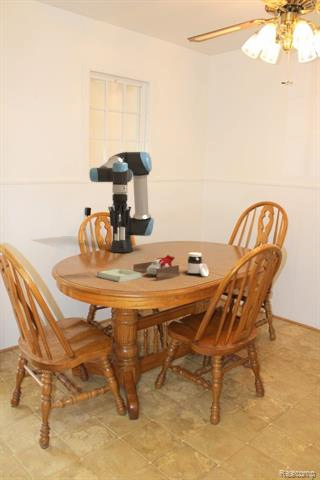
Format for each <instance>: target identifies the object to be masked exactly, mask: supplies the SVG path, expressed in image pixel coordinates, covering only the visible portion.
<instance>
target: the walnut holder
mask: <svg viewBox="0 0 320 480" xmlns="http://www.w3.org/2000/svg"><path fill="white" fill-rule="evenodd" d="M151 263H153V261H147V262H141V263H135V264H133V269H132V271H134V272H139V273H142V275H143V274H148V273H147V272H146V270H147V268H148V267H149V266H150V265H151ZM155 275H156V276H155V277H156V279H155V280H156V282H157V281H158V282H159V281H163V280H168V279H173V278H178V277H181V276H180V275H181V272H180V265H179V264H177V265H176V264H175V265H172V266H170V267H164V268H158V269H156V274H155Z"/></svg>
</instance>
